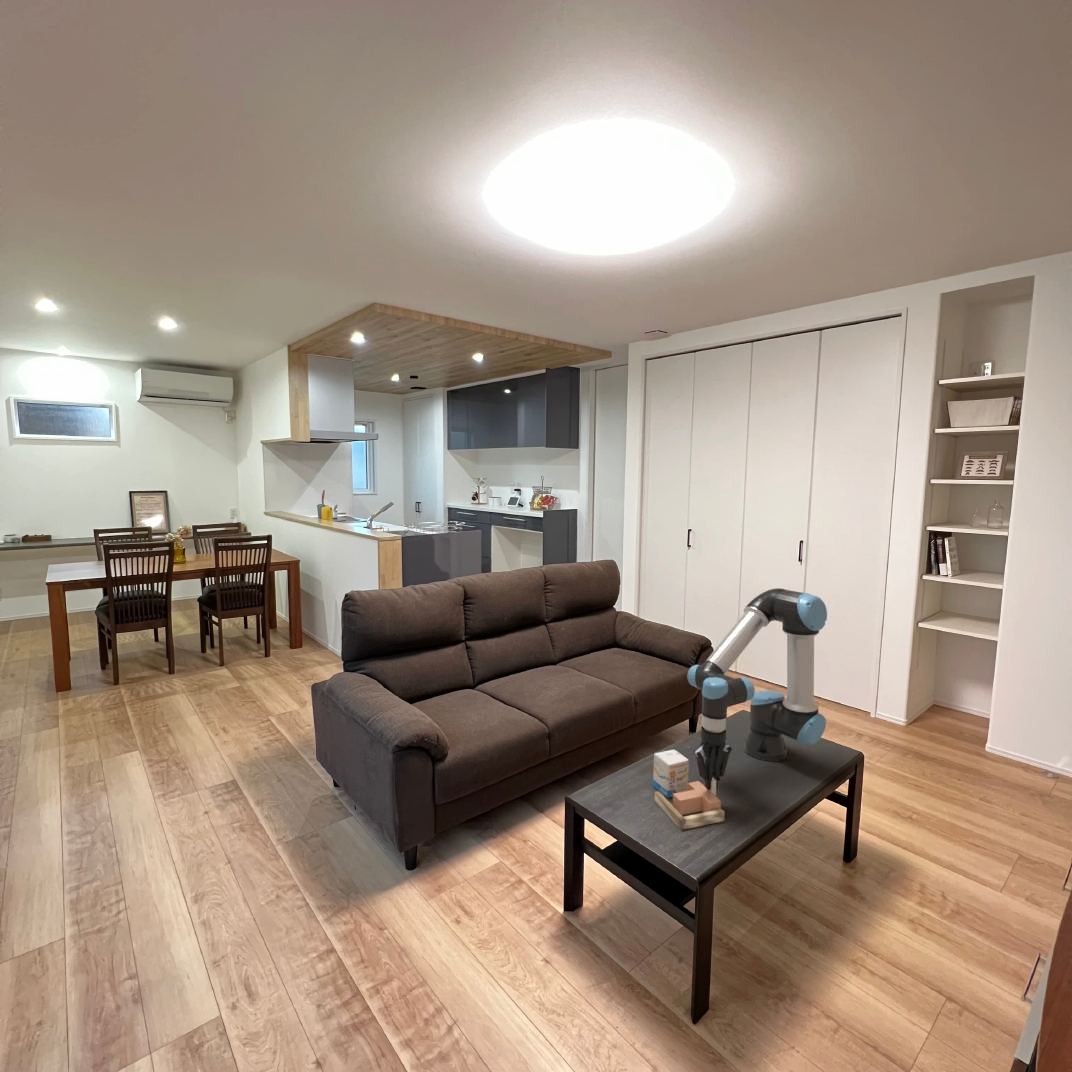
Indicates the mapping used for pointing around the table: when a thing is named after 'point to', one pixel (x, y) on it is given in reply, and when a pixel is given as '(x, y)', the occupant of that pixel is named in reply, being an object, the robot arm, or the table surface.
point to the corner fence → (688, 820)
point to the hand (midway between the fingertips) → (711, 797)
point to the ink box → (670, 772)
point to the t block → (695, 800)
